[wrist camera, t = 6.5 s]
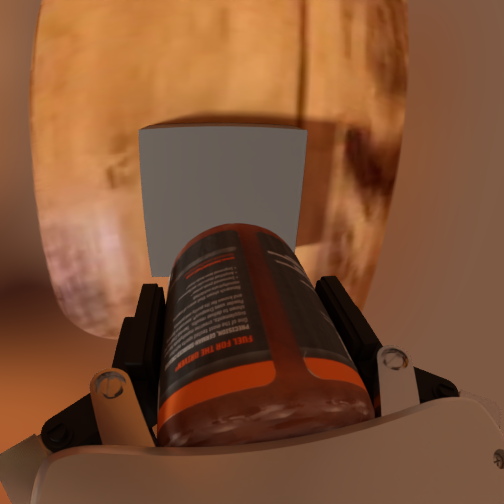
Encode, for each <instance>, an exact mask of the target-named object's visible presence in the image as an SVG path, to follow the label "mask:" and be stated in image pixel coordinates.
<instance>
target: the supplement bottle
mask: <svg viewBox="0 0 504 504" xmlns="http://www.w3.org/2000/svg"><path fill="white" fill-rule="evenodd" d="M372 419H375V411H374V408H373V405H372V403H371V400H370V397H369V394H368V392H367V390H366V388H365V386H364V383H363V381H362V379H361V378H360V376H359V374H358V371H357V368H356V366H355V365H354V363H353V361H352V359H351V357H350V355H349V353H348V351H347V349H346V347H345V346H344V344H343V342H342V340H341V338H340V336H339V334H338V332H337V330H336V328H335V326H334V324H333V322H332V320H331V319H330V317H329V315H328V313H327V311H326V309H325V307H324V306H323V304H322V302H321V300H320V298H319V297H318V295H317V293H316V291H315V289H314V287H313V285H312V284H311V282H310V280H309V278H308V277H307V275H306V273H305V271H304V269H303V267H302V266H301V264H300V262H299V260H298V259H297V257H296V255H295V254H294V252H293V251H292V250H291V248H290V247H289V246H288V245H287V244H286V242H285V241H284V240H283V239H282V238H280V237H279V236H278V235H277V234H275V233H274V232H272V231H270V230H268V229H266V228H263V227H260V226H256V225H251V224H243V223H233V224H231V223H229V224H223V225H220V226H216V227H213V228H210V229H208V230H206V231H204V232H202V233H200V234H199V235H197V236H195V237H194V238H193V239H191V240H190V241H189V242H188V243H187V244H186V245H185V246H184V247H183V248H182V250H181V251H180V252H179V254H178V256H177V257H176V259H175V261H174V264H173V267H172V270H171V274H170V278H169V284H168V292H167V300H166V307H165V315H164V326H163V334H162V346H161V356H160V370H159V388H158V409H157V446H158V447H213V446H229V445H241V444H251V443H260V442H268V441H275V440H282V439H288V438H294V437H300V436H305V435H311V434H316V433H320V432H325V431H330V430H334V429H338V428H342V427H346V426H350V425H354V424H358V423H361V422H365V421H369V420H372Z"/></svg>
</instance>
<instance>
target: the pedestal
mask: <svg viewBox="0 0 504 504" xmlns="http://www.w3.org/2000/svg"><path fill="white" fill-rule="evenodd" d="M307 133H308V130H305V129H302V128H298V127H295V126H289V125H274V124H254V123H184V124H164V125H149V126H147V127H144V128H142V129H140V130H139V153H140V172H141V186H142V199H143V210H144V220H145V229H146V237H147V245H148V253H149V260H150V267H151V274H152V277H170V274H171V270H172V267H173V264H174V261H175V259H176V257H177V256H178V254H179V252H180V251H181V250H182V248H183V247H184V246H185V245H186V244H187V243H188V242H189V241H190V240H191V239H193V238H194V237H195V236H197V235H199V234H200V233H202V232H204V231H206V230H208V229H210V228H213V227H216V226H220V225H223V224H229V223H231V224H233V223H243V224H251V225H256V226H260V227H263V228H266V229H268V230H270V231H272V232H274V233H275V234H277V235H278V236H279V237H280V238H282V239H283V240H284V241H285V242H286V244H287V245H288V246H289V247H290V248H291V250H292V251H293V252H294V253H295V246H296V238H297V230H298V221H299V213H300V204H301V195H302V186H303V176H304V166H305V155H306V145H307Z"/></svg>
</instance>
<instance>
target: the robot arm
mask: <svg viewBox="0 0 504 504" xmlns="http://www.w3.org/2000/svg"><path fill="white" fill-rule="evenodd" d="M315 291H316V293H317V295H318V297H319V298H320V300H321V302H322V304H323V306H324V307H325V309H326V311H327V313H328V315H329V317H330V319H331V320H332V322H333V324H334V326H335V328H336V330H337V332H338V334H339V336H340V338H341V340H342V342H343V344H344V346H345V347H346V349H347V351H348V353H349V355H350V357H351V359H352V361H353V363H354V365H355V366H356V368H357V371H358V374H359V376H360V378H361V379H362V381H363V383H364V386H365V388H366V390H367V392H368V394H369V397H370V400H371V403H372V405H373V408H374V411H375V419H372V420H369V421H365V422H361V423H358V424H354V425H350V426H346V427H342V428H338V429H334V430H330V431H325V432H320V433H316V434H311V435H305V436H300V437H294V438H288V439H282V440H275V441H268V442H260V443H251V444H241V445H229V446H213V447H158V446H157V438H156V436H155V434H154V431H153V429H152V427H153V426H155V425H156V424H157V409H158V388H159V370H160V356H161V346H162V334H163V326H164V315H165V307H166V304H165V298H164V291H163V287H158V284H143V286H142V289H141V293H140V297H139V301H138V305H137V309H136V313H135V317H125V318H124V321H123V324H122V328H121V332H120V335H119V339H118V343H117V347H116V351H115V356H114V360H113V364H112V368H106V369H103V370H101V371H99V372H98V373H96V374H95V375H94V376H93V378H92V379H91V382H90V393H89V394H88V395H86V396H84V397H83V398H81V399H80V400H78V401H77V402H75V403H74V404H72V405H70V406H69V407H67V408H66V409H64V410H63V411H61V412H60V413H58V414H57V415H55V416H53V417H52V418H50V419H49V420H48V421H46V422H45V424H44V425H43V427H42V430H41V434H40V435H38V436H36V435H35V434H33V435H32V436H30V437H28V438H27V439H25V440H23V441H21V442H20V443H18V444H16V445H15V446H13V447H11V448H10V449H8V450H6V451H4V452H3V453H1V454H0V481H1V483H2V485H3V487H4V489H5V491H6V493H7V495H8V497H9V499H10V501H11V503H12V504H504V435H503V434H502V432H501V430H500V420H501V411H500V408H499V406H498V405H497V403H496V402H494V401H492V400H490V399H487V398H483V397H481V396H478V395H475V394H472V393H469V392H466V391H463V390H460V391H459V392H458V390H457V388H456V386H455V385H454V384H453V383H452V382H451V381H449V380H447V379H444V378H442V377H439V376H436V375H434V374H431V373H429V372H426V371H424V370H421V369H419V368H416V367H414V366H413V363H412V359H411V356H410V355H409V354H408V353H407V351H405V350H404V349H403V348H400V347H398V346H394V345H387V346H384V347H383V346H382V344H381V343H380V341H379V339H378V338H377V336H376V335H375V333H374V332H373V330H372V328H371V327H370V325H369V324H368V322H367V321H366V319H365V318H364V316H363V315H362V313H361V311H360V310H359V308H358V307H357V306H356V305H355V304H354V302H353V301H352V299H351V298H350V296H349V295H348V293H347V292H346V290H345V289H344V287H343V286H342V284H341V283H340V281H339V280H338V278H337V277H336V276H323V277H321V279H320V280H318V281H317V283H316V287H315Z"/></svg>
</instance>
